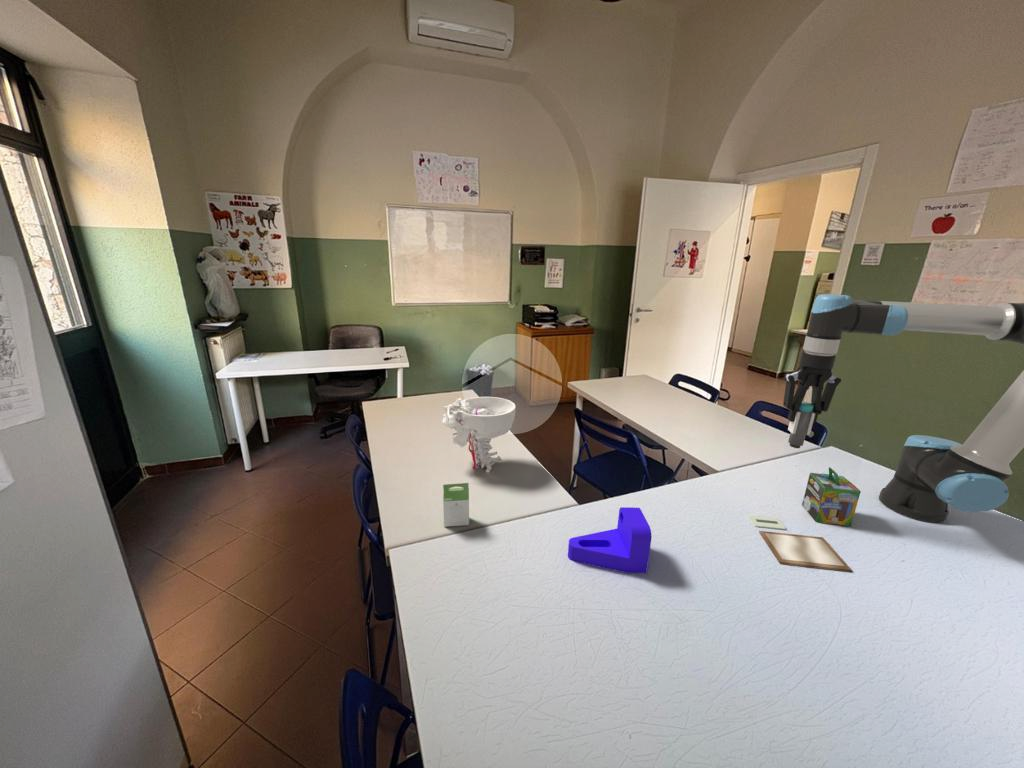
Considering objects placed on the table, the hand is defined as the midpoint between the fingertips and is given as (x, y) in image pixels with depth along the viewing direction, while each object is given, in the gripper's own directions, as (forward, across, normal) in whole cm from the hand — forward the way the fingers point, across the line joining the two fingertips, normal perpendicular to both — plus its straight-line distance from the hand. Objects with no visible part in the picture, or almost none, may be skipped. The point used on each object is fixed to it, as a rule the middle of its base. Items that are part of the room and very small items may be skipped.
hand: (798, 432), depth 116 cm
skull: (+25, +96, -7) cm, 99 cm away
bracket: (+25, +55, +32) cm, 68 cm away
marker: (+5, 0, 0) cm, 5 cm away
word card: (+25, +8, +10) cm, 28 cm away
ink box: (+25, +95, +25) cm, 101 cm away
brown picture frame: (+25, +4, +21) cm, 33 cm away
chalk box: (+25, -11, +3) cm, 27 cm away
